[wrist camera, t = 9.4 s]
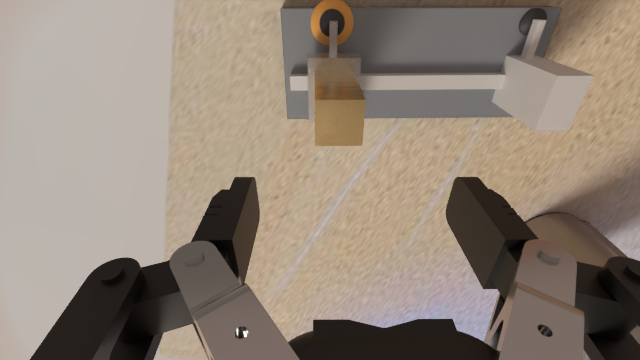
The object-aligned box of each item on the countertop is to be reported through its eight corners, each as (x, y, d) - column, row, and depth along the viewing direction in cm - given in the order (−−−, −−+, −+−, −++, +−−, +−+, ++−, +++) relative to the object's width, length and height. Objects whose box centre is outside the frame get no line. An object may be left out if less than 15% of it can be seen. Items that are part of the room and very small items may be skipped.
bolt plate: (553, -4, 25) (641, 3, 18) (512, 111, 30) (568, 148, 24) (281, -3, 25) (269, 4, 18) (288, 113, 30) (281, 151, 23)
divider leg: (359, 20, 24) (380, 39, 16) (353, 109, 28) (368, 159, 20) (307, 20, 24) (304, 39, 16) (309, 110, 28) (307, 159, 20)
